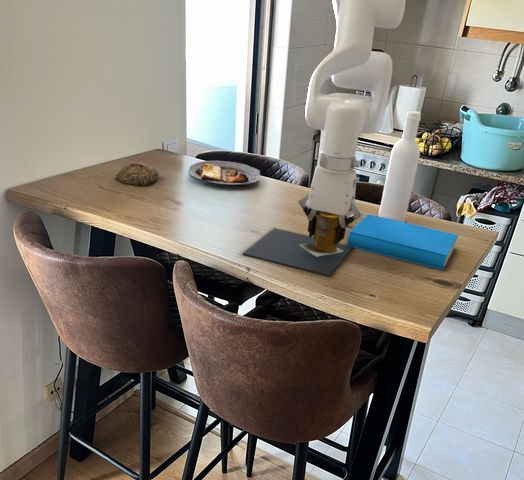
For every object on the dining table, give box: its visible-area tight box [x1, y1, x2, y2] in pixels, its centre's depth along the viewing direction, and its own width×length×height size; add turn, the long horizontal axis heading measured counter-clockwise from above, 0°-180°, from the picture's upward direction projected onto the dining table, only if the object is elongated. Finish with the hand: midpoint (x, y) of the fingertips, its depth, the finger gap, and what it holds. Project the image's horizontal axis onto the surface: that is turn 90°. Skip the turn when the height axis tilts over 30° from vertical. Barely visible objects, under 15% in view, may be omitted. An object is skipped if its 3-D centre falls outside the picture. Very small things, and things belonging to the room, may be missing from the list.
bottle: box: [378, 110, 422, 223], centre depth 156 cm, size 8×8×30 cm
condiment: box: [300, 211, 343, 257], centre depth 134 cm, size 7×8×12 cm
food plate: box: [187, 160, 261, 186], centre depth 185 cm, size 25×23×4 cm
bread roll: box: [115, 162, 159, 187], centre depth 176 cm, size 13×12×5 cm
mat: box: [242, 227, 354, 278], centre depth 140 cm, size 20×22×1 cm
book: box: [346, 213, 459, 271], centre depth 147 cm, size 17×4×25 cm
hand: (325, 237), depth 135 cm, fingers closed on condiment, 6 cm apart
